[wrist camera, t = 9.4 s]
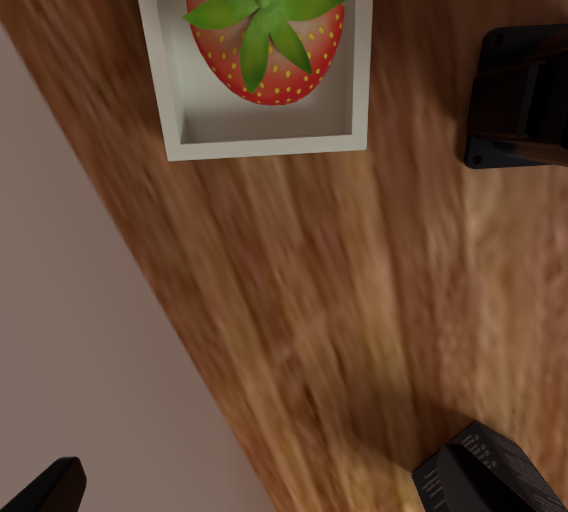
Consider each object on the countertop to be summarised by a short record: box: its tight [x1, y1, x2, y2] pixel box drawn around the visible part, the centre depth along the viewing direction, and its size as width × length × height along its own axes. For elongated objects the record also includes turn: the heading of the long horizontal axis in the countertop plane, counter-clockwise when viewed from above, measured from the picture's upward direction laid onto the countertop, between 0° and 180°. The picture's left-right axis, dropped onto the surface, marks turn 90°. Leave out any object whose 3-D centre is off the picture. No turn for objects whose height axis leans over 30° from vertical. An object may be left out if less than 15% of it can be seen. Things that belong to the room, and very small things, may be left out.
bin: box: [138, 0, 373, 161], centre depth 15 cm, size 9×9×2 cm
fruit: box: [182, 0, 346, 106], centre depth 12 cm, size 5×5×8 cm
